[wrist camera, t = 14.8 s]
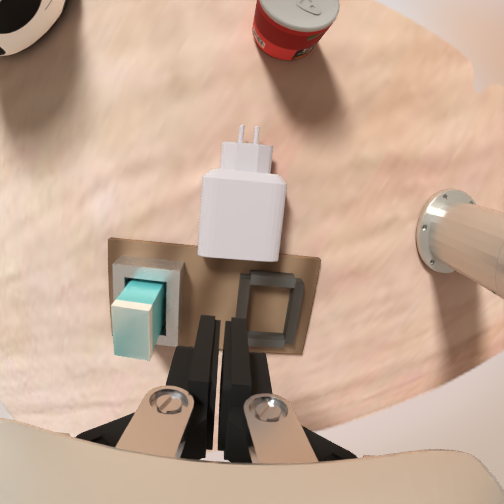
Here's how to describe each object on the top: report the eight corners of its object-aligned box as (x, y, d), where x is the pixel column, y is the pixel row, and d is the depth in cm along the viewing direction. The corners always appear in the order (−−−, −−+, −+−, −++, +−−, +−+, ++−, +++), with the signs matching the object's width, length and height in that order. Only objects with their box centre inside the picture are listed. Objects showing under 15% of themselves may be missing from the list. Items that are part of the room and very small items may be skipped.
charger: (286, 131, 37) (273, 251, 41) (210, 124, 37) (200, 246, 40) (294, 127, 33) (279, 262, 37) (207, 119, 32) (196, 256, 36)
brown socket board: (318, 257, 42) (325, 264, 39) (300, 350, 45) (304, 361, 42) (110, 237, 39) (102, 243, 36) (114, 332, 43) (107, 343, 40)
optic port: (184, 261, 40) (180, 271, 36) (181, 333, 42) (177, 347, 39) (121, 255, 39) (112, 263, 35) (123, 326, 42) (116, 338, 38)
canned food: (301, 71, 35) (326, 42, 24) (241, 47, 34) (245, 9, 23) (322, 26, 33) (350, -11, 23) (265, 2, 32) (276, -42, 21)
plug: (167, 276, 40) (149, 310, 30) (165, 318, 42) (149, 360, 32) (136, 272, 40) (111, 305, 30) (136, 314, 41) (114, 355, 32)
